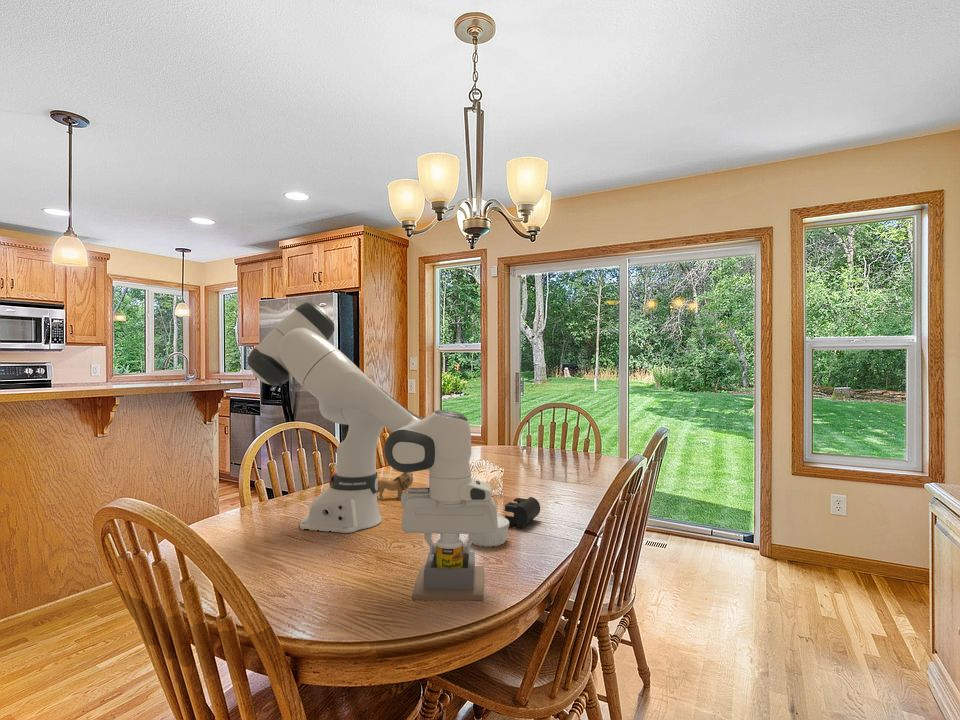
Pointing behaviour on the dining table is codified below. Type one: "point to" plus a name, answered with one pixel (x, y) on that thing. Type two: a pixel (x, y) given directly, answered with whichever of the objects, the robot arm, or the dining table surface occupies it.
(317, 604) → the dining table surface
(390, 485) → the lion figurine
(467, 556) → the socket holder
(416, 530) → the robot arm
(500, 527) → the ramekin
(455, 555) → the supplement bottle
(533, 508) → the end cap
